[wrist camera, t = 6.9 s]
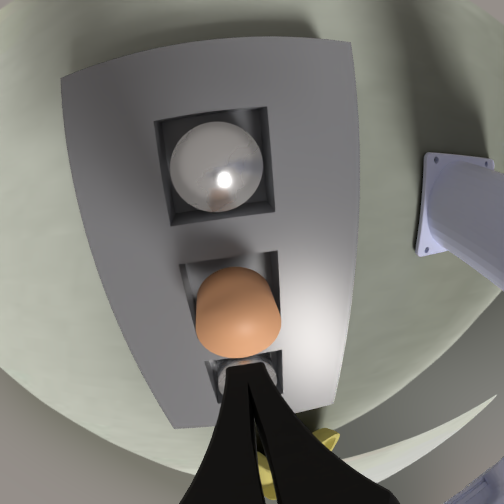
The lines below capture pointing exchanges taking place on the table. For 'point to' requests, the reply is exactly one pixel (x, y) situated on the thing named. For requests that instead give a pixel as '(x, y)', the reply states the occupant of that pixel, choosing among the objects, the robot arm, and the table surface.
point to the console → (227, 222)
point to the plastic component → (323, 435)
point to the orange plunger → (236, 313)
